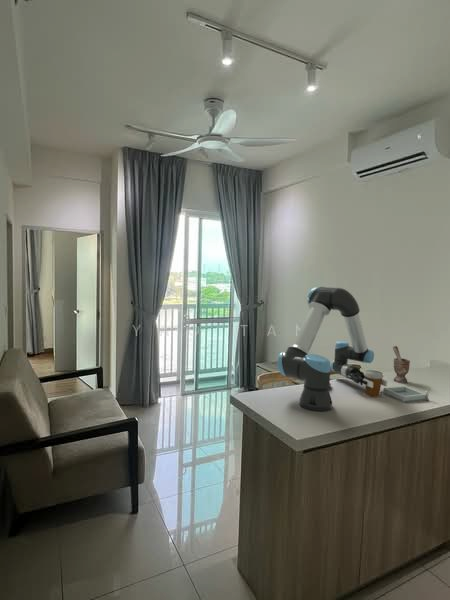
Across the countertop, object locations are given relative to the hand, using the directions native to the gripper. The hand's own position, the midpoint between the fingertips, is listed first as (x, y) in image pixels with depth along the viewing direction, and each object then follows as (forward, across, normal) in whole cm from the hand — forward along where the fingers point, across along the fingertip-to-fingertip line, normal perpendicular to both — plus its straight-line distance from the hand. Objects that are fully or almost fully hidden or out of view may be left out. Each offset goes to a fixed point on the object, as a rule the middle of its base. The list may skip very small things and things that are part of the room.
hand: (379, 384), depth 187 cm
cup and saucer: (-24, +20, -7) cm, 32 cm away
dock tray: (+1, -15, -7) cm, 17 cm away
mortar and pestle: (-23, -34, -7) cm, 42 cm away
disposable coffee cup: (-5, 0, -7) cm, 9 cm away
